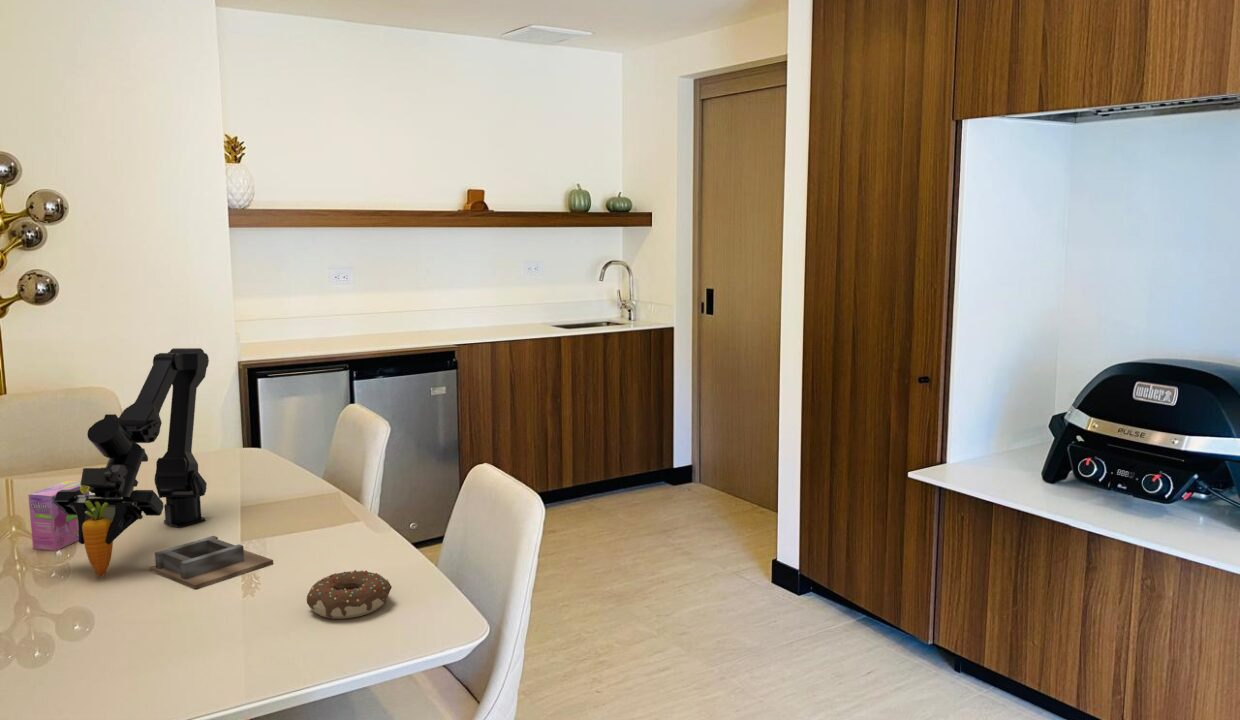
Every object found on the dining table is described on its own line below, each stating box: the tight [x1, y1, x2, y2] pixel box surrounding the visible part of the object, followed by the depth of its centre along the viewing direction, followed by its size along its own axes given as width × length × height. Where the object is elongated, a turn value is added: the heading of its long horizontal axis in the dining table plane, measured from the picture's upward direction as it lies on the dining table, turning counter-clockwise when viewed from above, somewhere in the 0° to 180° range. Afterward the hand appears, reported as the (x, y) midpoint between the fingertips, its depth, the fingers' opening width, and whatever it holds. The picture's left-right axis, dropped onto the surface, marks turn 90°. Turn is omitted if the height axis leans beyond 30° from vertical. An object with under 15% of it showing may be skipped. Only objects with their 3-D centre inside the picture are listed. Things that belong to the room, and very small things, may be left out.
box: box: [27, 480, 90, 552], centre depth 196 cm, size 10×6×12 cm, turn 168°
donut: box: [306, 569, 392, 620], centre depth 163 cm, size 14×14×5 cm
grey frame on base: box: [149, 535, 274, 590], centre depth 182 cm, size 16×16×4 cm
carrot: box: [82, 500, 114, 578], centre depth 176 cm, size 5×5×15 cm
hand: (94, 543), depth 175 cm, fingers closed on carrot, 5 cm apart
